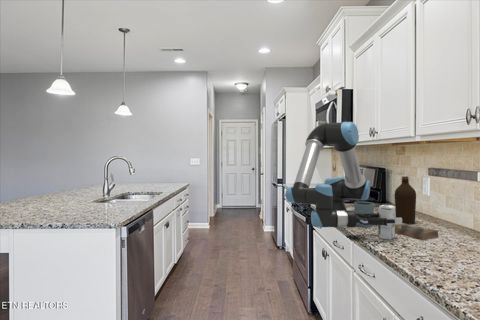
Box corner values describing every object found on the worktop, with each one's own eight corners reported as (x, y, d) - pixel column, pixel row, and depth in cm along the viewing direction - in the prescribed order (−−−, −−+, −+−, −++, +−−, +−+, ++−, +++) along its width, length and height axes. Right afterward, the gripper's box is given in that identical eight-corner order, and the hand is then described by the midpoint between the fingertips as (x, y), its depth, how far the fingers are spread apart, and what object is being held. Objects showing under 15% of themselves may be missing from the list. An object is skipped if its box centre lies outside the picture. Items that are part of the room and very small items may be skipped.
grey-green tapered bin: (356, 222, 182) (356, 200, 182) (376, 224, 177) (375, 202, 176) (352, 226, 173) (352, 203, 173) (372, 228, 168) (372, 204, 168)
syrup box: (382, 235, 154) (381, 204, 154) (395, 237, 150) (395, 205, 150) (378, 238, 149) (377, 206, 149) (392, 240, 146) (391, 207, 145)
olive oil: (413, 225, 173) (413, 177, 173) (391, 222, 180) (391, 176, 180) (418, 222, 181) (418, 176, 181) (398, 219, 188) (398, 175, 188)
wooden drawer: (388, 231, 161) (388, 221, 161) (403, 229, 166) (403, 219, 166) (422, 240, 145) (422, 229, 145) (438, 237, 149) (438, 226, 149)
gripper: (341, 222, 161) (389, 222, 159) (351, 232, 141) (407, 232, 139) (341, 206, 161) (389, 206, 159) (351, 215, 141) (407, 215, 139)
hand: (398, 219), depth 149 cm, fingers closed on syrup box, 7 cm apart
